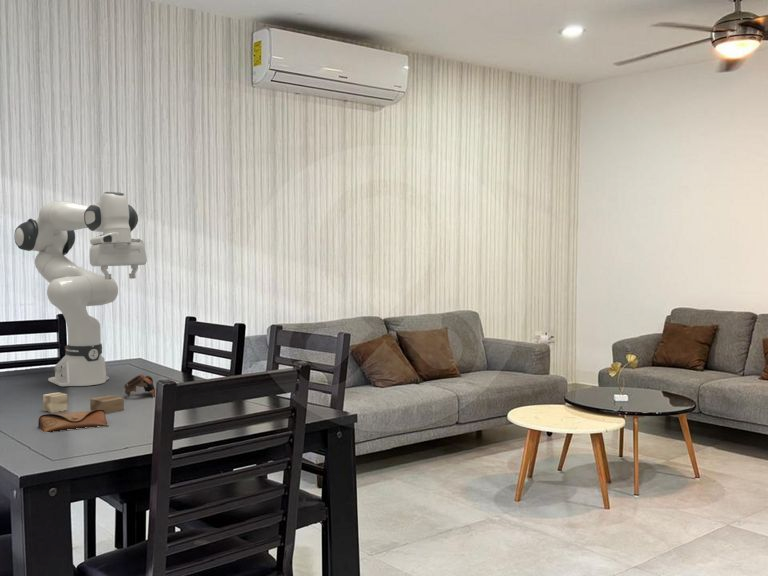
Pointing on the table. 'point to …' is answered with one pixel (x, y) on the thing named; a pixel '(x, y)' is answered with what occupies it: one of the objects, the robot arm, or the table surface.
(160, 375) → the table surface
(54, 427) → the sunglasses case
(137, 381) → the brown piece
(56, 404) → the beech block
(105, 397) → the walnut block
